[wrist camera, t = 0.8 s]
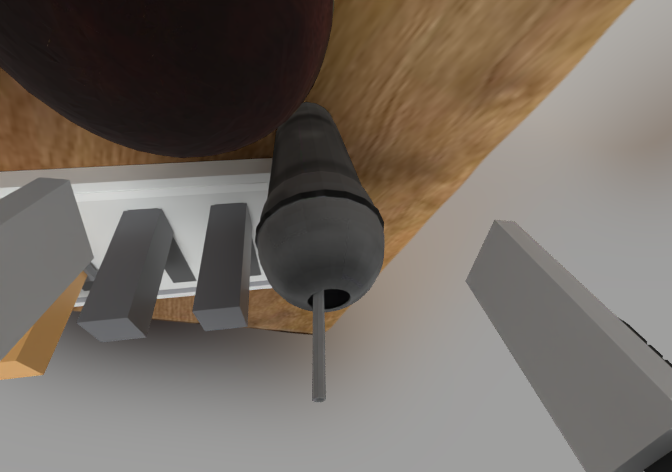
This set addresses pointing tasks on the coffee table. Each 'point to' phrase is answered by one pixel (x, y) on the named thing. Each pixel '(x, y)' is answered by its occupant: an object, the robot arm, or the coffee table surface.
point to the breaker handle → (44, 334)
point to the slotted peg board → (165, 239)
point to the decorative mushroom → (168, 66)
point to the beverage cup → (317, 226)
